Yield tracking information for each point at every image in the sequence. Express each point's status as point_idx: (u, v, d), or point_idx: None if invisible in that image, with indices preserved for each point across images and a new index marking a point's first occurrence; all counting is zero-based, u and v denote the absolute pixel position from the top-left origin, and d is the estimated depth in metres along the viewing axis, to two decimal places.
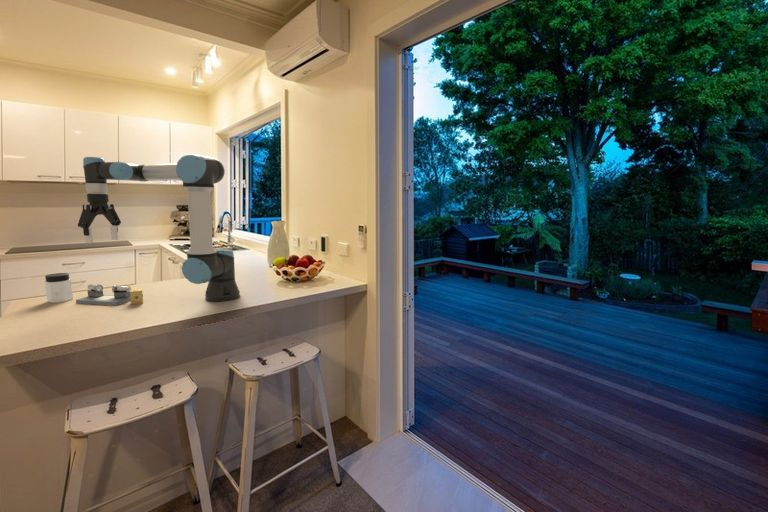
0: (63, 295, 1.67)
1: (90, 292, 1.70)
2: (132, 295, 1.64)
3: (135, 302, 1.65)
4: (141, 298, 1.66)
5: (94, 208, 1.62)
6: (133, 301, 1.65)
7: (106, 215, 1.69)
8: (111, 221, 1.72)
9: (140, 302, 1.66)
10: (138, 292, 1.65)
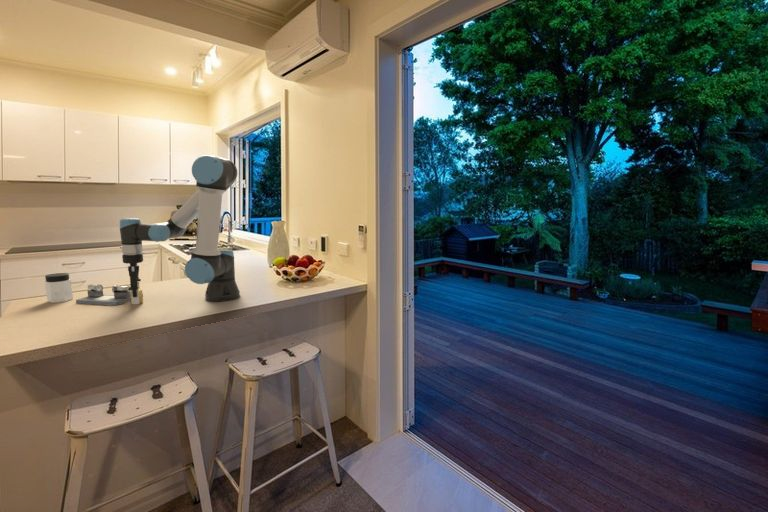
0: (63, 295, 1.67)
1: (90, 292, 1.70)
2: None
3: None
4: (141, 298, 1.66)
5: None
6: None
7: None
8: None
9: (140, 302, 1.66)
10: None
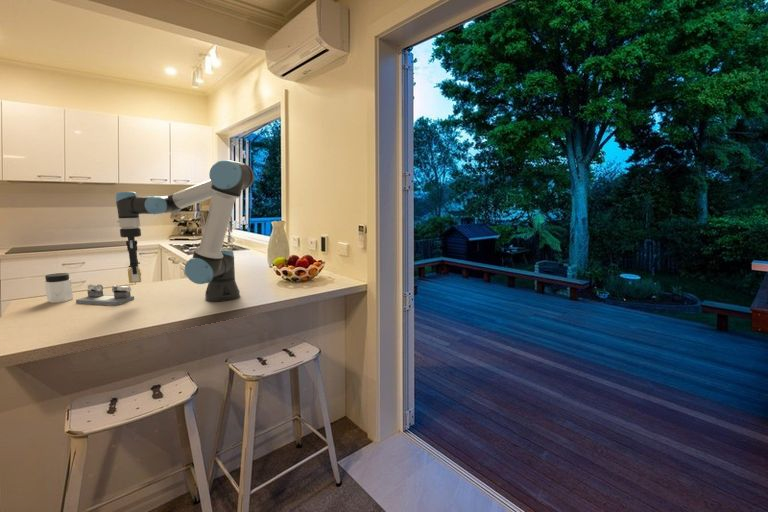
0: (63, 295, 1.67)
1: (90, 292, 1.70)
2: (130, 273, 1.62)
3: None
4: (139, 276, 1.64)
5: (134, 243, 1.61)
6: (131, 279, 1.63)
7: None
8: None
9: None
10: None
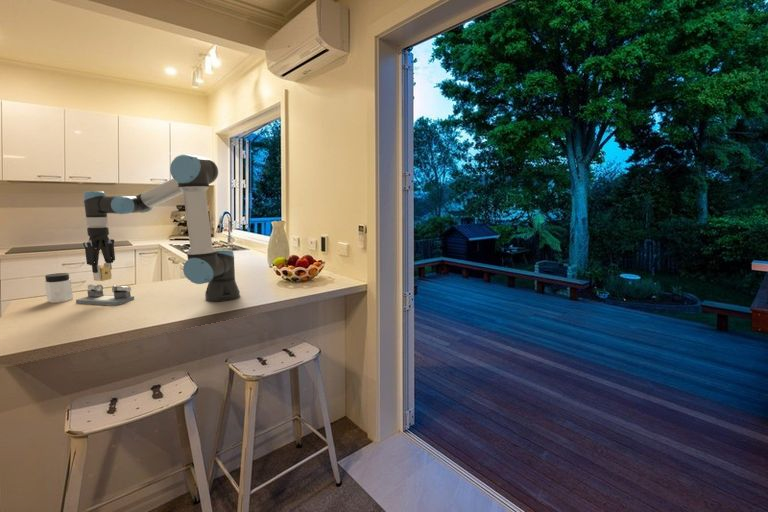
0: (63, 295, 1.67)
1: (90, 292, 1.70)
2: None
3: None
4: (101, 275, 1.65)
5: (95, 242, 1.62)
6: None
7: (103, 249, 1.67)
8: (106, 257, 1.69)
9: None
10: None
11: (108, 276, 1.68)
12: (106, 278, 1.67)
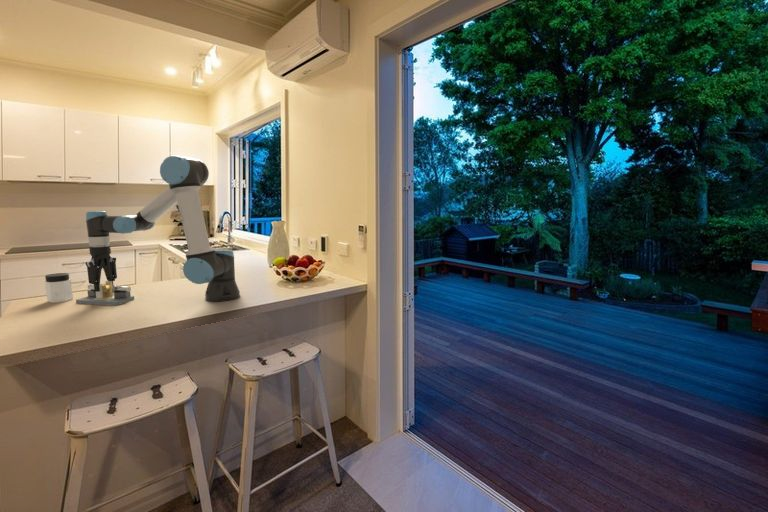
0: (63, 295, 1.67)
1: (90, 292, 1.70)
2: None
3: None
4: (103, 293, 1.67)
5: (97, 261, 1.64)
6: None
7: (105, 268, 1.69)
8: (108, 275, 1.70)
9: None
10: None
11: (110, 294, 1.70)
12: (108, 296, 1.69)
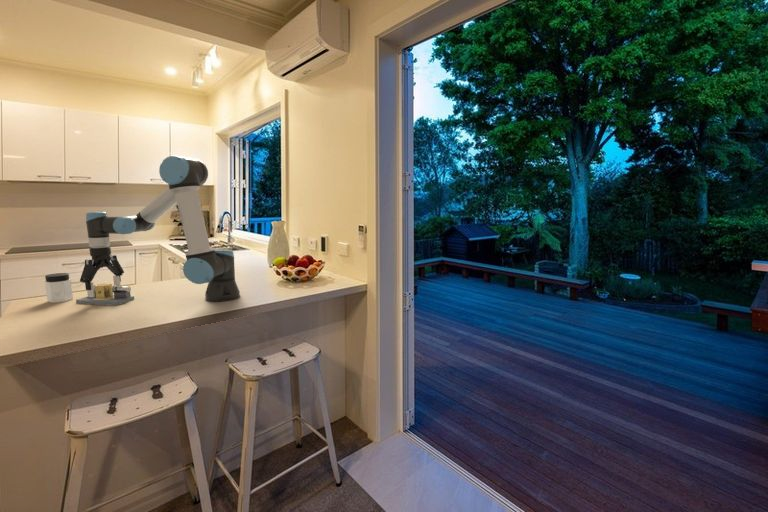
0: (63, 295, 1.67)
1: None
2: (96, 289, 1.67)
3: (98, 296, 1.67)
4: (103, 293, 1.67)
5: (96, 262, 1.63)
6: (97, 295, 1.67)
7: (109, 267, 1.70)
8: (114, 272, 1.73)
9: (102, 297, 1.67)
10: (100, 287, 1.66)
11: (110, 294, 1.70)
12: (108, 296, 1.69)
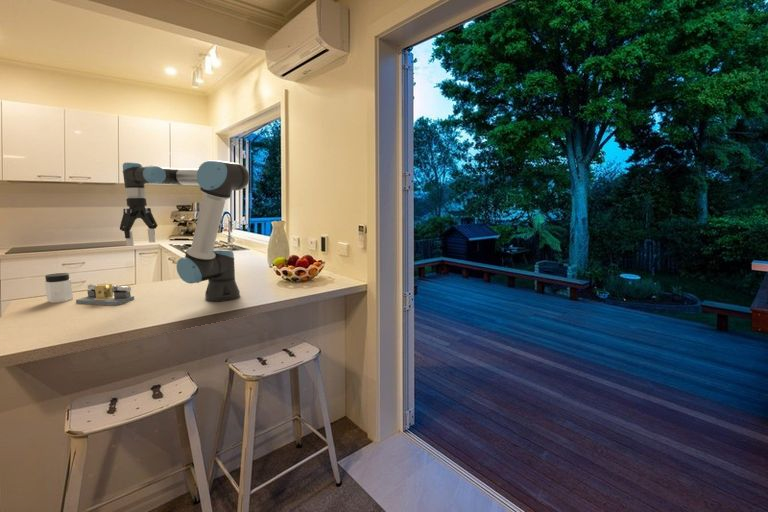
0: (63, 295, 1.67)
1: (90, 292, 1.70)
2: (96, 289, 1.67)
3: (98, 296, 1.67)
4: (103, 293, 1.67)
5: (134, 212, 1.67)
6: (97, 295, 1.67)
7: (144, 219, 1.74)
8: (148, 224, 1.77)
9: (102, 297, 1.67)
10: (100, 287, 1.66)
11: (110, 294, 1.70)
12: (108, 296, 1.69)
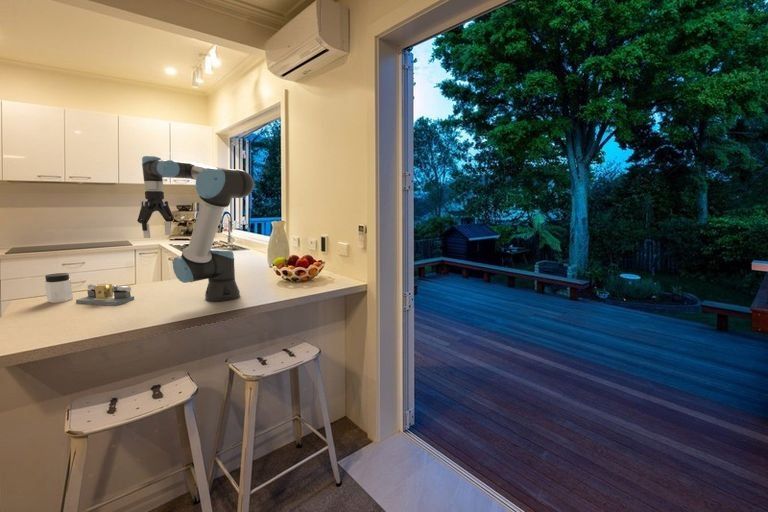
0: (63, 295, 1.67)
1: (90, 292, 1.70)
2: (96, 289, 1.67)
3: (98, 296, 1.67)
4: (103, 293, 1.67)
5: (151, 205, 1.70)
6: (97, 295, 1.67)
7: (161, 211, 1.77)
8: (165, 217, 1.80)
9: (102, 297, 1.67)
10: (100, 287, 1.66)
11: (110, 294, 1.70)
12: (108, 296, 1.69)
